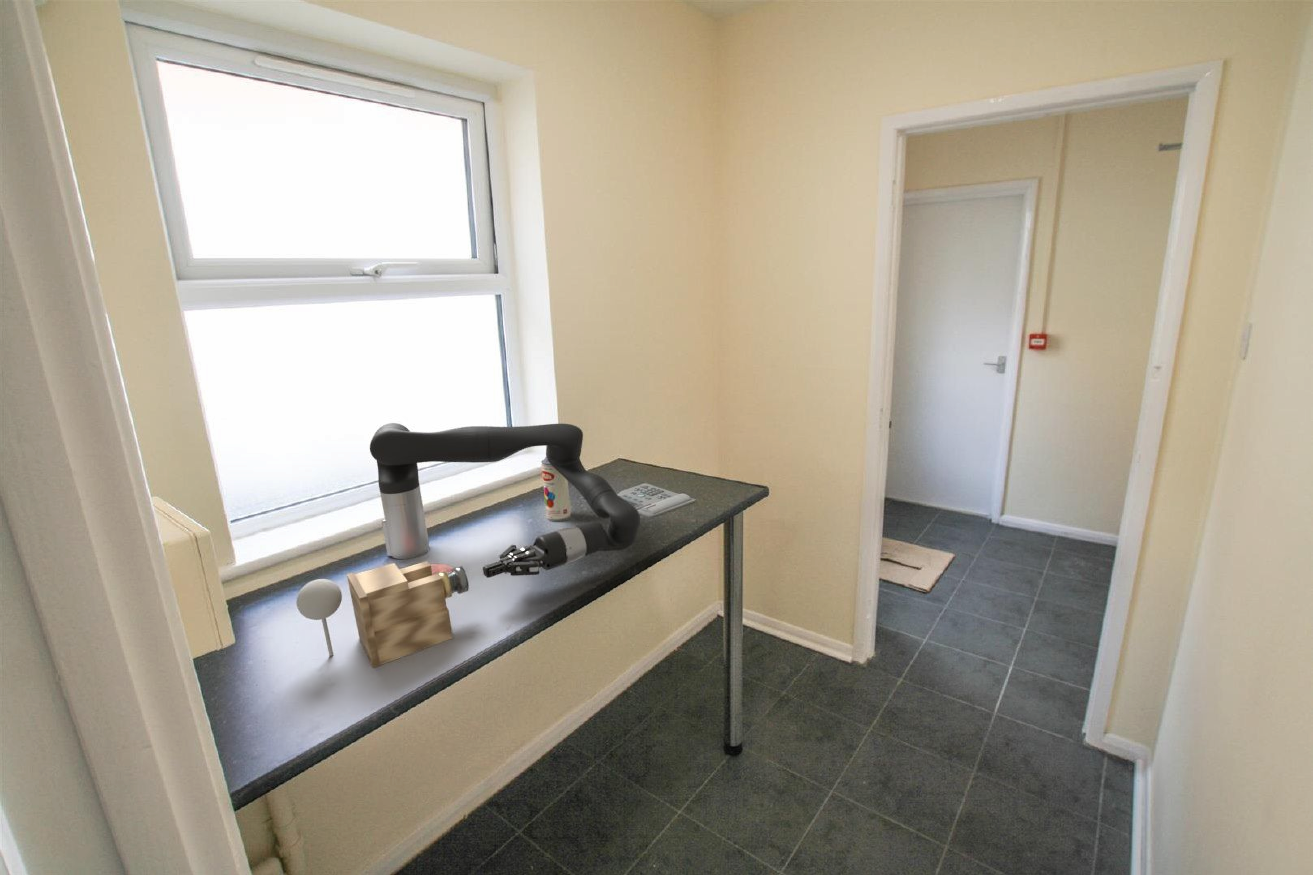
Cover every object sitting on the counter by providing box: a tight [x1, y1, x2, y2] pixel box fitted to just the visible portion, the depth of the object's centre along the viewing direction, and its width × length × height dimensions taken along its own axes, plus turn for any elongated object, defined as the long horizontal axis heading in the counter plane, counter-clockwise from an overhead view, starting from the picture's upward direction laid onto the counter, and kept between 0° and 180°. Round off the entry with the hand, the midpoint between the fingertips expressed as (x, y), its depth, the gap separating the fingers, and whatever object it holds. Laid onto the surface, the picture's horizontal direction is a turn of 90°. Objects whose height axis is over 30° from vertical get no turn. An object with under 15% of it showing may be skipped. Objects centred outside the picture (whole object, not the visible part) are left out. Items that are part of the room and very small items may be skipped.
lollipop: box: [296, 578, 343, 657], centre depth 110 cm, size 7×7×15 cm
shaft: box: [436, 565, 470, 599], centre depth 116 cm, size 17×5×5 cm, turn 126°
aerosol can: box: [540, 456, 572, 523], centre depth 171 cm, size 7×7×20 cm
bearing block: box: [346, 560, 454, 668], centre depth 114 cm, size 14×12×14 cm
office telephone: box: [616, 482, 697, 518], centre depth 182 cm, size 23×3×20 cm
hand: (484, 572), depth 123 cm, fingers closed
